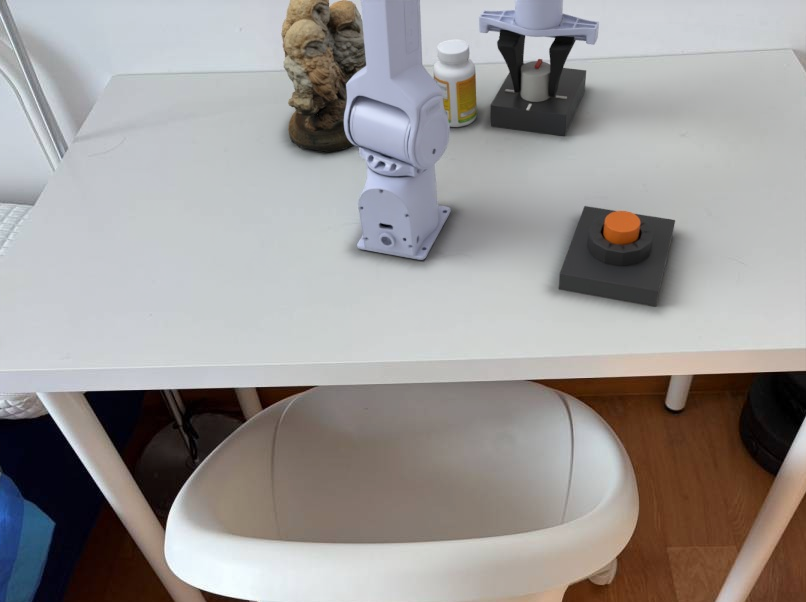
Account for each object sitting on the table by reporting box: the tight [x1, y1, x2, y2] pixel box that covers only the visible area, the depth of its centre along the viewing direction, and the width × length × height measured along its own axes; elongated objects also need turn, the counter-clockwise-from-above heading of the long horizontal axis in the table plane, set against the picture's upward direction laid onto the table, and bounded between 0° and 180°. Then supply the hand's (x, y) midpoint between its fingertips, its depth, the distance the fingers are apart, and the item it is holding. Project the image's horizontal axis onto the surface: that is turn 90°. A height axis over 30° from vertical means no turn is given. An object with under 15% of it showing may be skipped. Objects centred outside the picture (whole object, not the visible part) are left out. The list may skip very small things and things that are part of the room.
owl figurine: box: [280, 0, 366, 153], centre depth 99 cm, size 18×12×17 cm, turn 161°
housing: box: [558, 205, 676, 308], centre depth 83 cm, size 12×10×4 cm
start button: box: [603, 210, 640, 245], centre depth 81 cm, size 4×4×2 cm
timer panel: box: [489, 62, 587, 137], centre depth 105 cm, size 12×10×3 cm
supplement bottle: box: [432, 38, 478, 128], centre depth 102 cm, size 5×5×10 cm
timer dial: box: [520, 58, 550, 102], centre depth 101 cm, size 4×4×4 cm
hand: (536, 90), depth 102 cm, fingers closed on timer dial, 4 cm apart
